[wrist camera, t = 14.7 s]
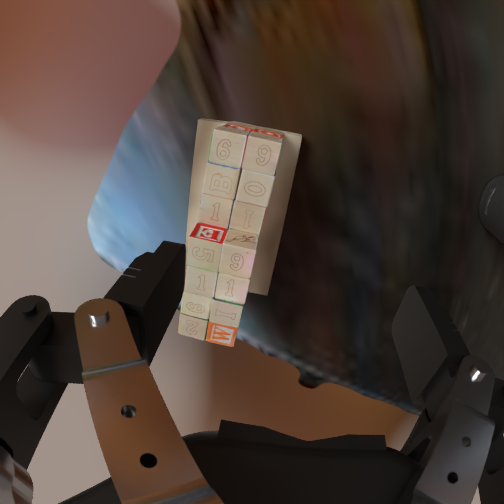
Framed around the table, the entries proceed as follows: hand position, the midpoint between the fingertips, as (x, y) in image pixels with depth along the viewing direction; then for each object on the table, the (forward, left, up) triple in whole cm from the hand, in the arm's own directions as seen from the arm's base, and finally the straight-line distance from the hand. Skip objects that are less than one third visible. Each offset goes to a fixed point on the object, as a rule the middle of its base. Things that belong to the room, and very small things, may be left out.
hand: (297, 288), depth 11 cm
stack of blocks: (+5, +8, -28) cm, 29 cm away
